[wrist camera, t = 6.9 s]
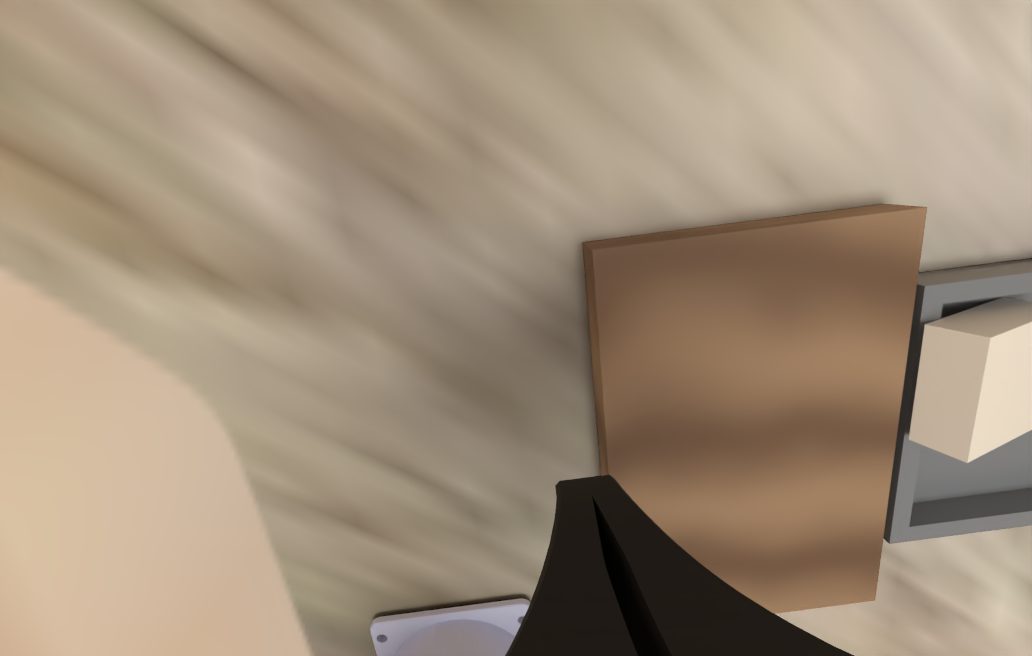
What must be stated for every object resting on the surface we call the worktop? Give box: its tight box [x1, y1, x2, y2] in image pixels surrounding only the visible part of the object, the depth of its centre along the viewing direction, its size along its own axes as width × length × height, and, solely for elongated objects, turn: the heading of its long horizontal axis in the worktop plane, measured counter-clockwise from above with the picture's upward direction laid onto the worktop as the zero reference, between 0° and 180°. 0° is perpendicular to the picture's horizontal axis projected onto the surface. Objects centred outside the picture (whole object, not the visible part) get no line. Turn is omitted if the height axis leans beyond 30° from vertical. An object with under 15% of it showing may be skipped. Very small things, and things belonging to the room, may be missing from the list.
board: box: [583, 204, 927, 614], centre depth 21 cm, size 18×12×2 cm, turn 7°
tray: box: [883, 258, 1032, 544], centre depth 21 cm, size 12×11×2 cm
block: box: [909, 298, 1032, 463], centre depth 19 cm, size 5×5×2 cm
